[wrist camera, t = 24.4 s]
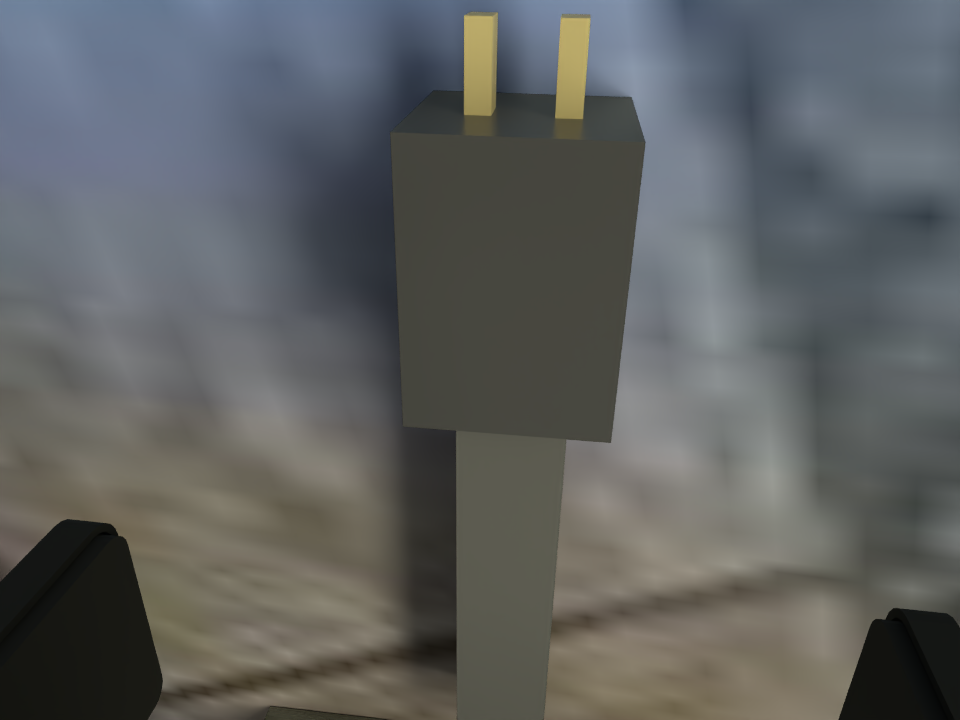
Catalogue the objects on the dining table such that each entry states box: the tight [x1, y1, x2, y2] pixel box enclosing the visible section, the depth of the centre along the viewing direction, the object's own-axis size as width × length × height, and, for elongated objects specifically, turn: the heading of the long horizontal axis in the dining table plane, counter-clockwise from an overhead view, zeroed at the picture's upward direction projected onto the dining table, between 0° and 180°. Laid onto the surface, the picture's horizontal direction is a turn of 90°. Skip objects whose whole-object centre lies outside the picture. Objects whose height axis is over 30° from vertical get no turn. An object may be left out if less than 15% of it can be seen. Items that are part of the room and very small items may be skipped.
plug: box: [390, 12, 645, 720], centre depth 22 cm, size 5×24×5 cm, turn 179°
